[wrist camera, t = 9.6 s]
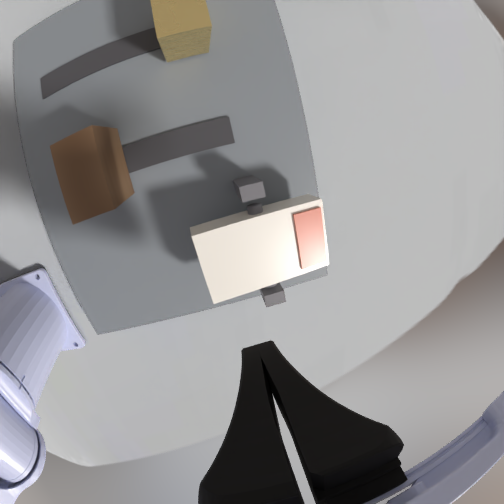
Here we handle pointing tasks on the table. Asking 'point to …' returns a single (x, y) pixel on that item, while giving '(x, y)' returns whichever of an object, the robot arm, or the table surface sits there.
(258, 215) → the rocker
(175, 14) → the tan wooden block
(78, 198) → the walnut knob
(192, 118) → the console
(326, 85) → the table surface
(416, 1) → the table surface
